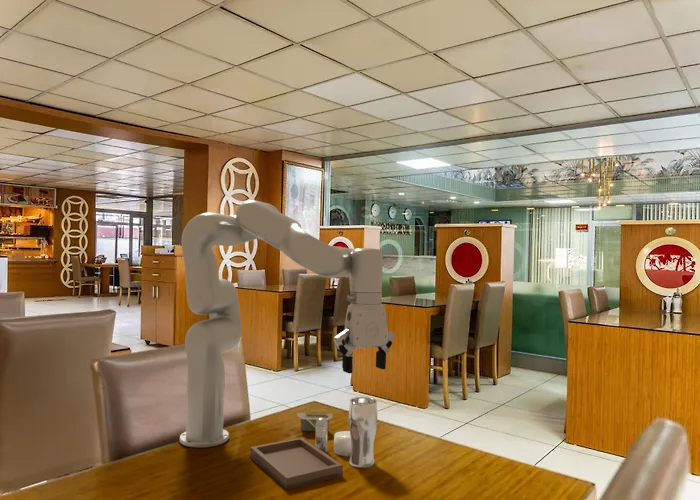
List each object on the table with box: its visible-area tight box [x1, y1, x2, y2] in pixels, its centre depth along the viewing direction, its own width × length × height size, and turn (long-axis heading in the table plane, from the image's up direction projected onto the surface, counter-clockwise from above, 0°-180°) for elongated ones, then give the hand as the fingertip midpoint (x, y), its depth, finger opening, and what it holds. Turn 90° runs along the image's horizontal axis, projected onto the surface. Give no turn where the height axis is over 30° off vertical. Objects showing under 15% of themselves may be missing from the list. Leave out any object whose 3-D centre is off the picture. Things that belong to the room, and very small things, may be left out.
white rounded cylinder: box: [333, 430, 351, 457], centre depth 131 cm, size 7×7×4 cm
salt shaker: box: [314, 418, 328, 454], centre depth 131 cm, size 3×3×8 cm
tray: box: [249, 437, 344, 491], centre depth 121 cm, size 20×14×2 cm
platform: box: [296, 408, 334, 433], centre depth 145 cm, size 12×18×7 cm, turn 88°
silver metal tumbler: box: [348, 396, 378, 469], centre depth 124 cm, size 7×7×15 cm
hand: (364, 370), depth 124 cm, fingers open, 9 cm apart
